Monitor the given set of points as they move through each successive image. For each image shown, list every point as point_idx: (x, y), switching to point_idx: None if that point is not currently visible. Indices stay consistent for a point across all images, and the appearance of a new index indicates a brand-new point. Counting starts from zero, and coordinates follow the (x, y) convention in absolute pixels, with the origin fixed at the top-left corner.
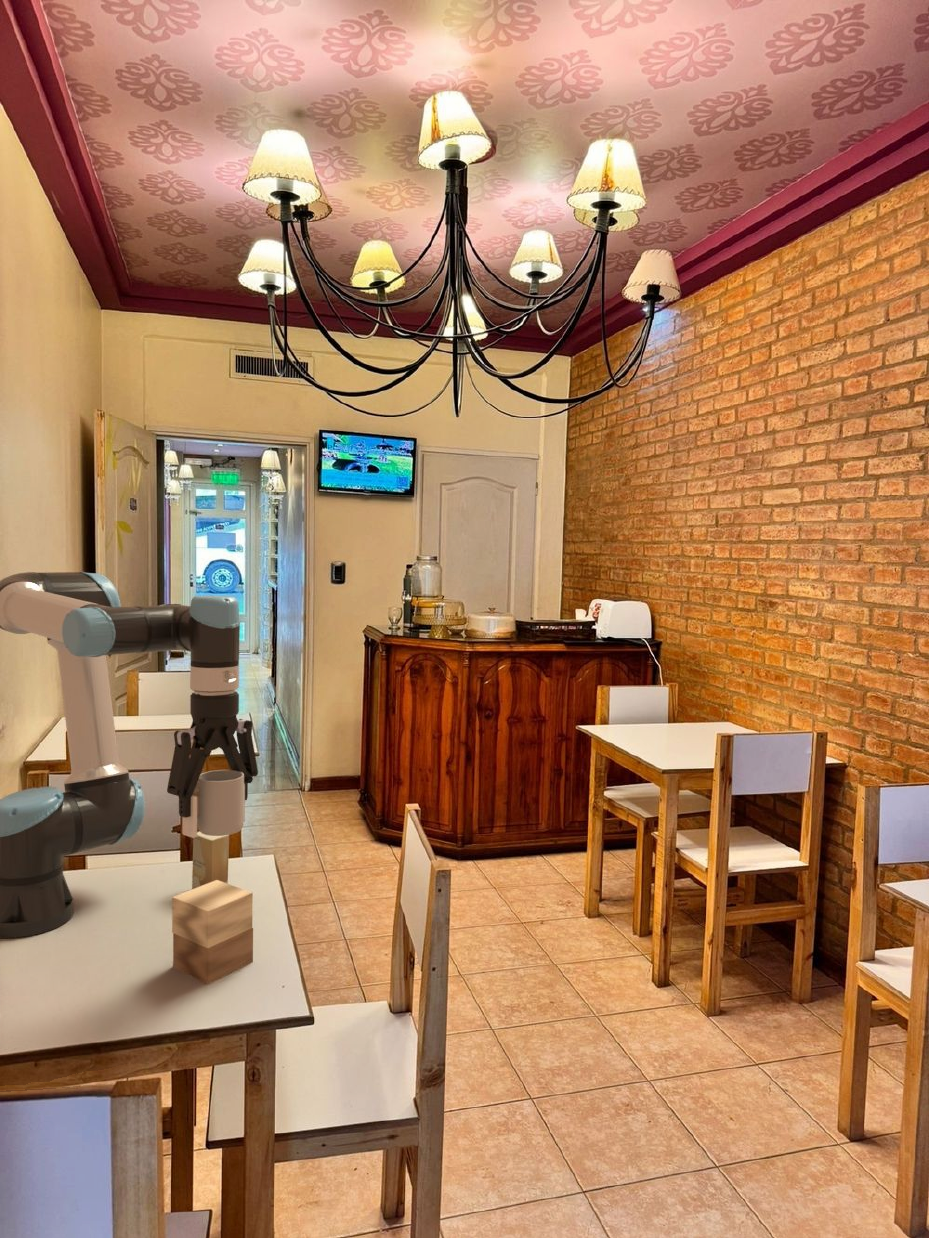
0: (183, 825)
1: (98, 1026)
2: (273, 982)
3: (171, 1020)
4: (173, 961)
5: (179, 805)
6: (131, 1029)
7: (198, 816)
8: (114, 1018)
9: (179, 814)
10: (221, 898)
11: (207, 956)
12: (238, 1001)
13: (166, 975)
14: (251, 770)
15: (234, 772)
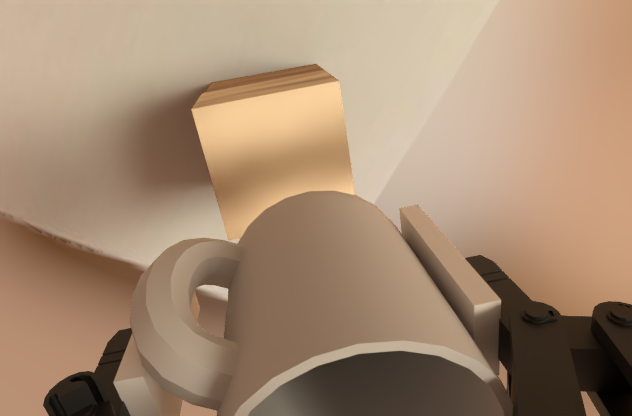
0: None
1: (39, 187)
2: None
3: (145, 239)
4: (210, 84)
5: (97, 374)
6: (85, 225)
7: (229, 287)
8: (68, 181)
9: (113, 337)
10: (286, 196)
11: None
12: None
13: (188, 105)
14: (598, 409)
15: (497, 402)
